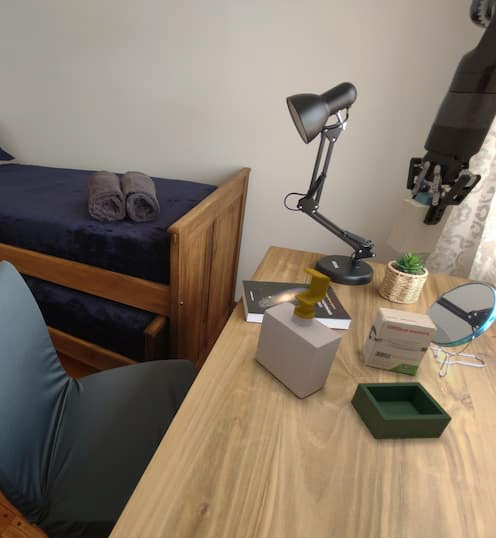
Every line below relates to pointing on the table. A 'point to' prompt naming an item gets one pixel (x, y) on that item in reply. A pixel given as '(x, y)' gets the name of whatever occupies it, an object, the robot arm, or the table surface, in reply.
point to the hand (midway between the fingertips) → (421, 219)
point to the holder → (399, 410)
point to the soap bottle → (298, 340)
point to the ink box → (398, 340)
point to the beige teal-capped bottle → (416, 226)
